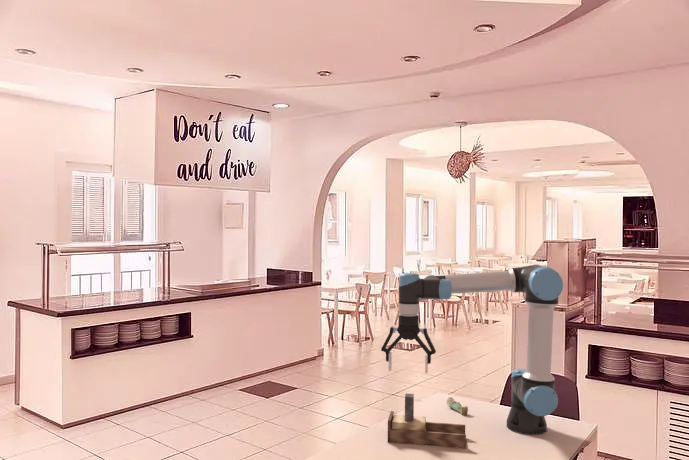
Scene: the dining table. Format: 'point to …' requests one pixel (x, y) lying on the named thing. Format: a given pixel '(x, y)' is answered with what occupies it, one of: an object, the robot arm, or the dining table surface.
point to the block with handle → (409, 417)
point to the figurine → (457, 406)
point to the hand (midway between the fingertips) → (408, 371)
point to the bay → (429, 435)
